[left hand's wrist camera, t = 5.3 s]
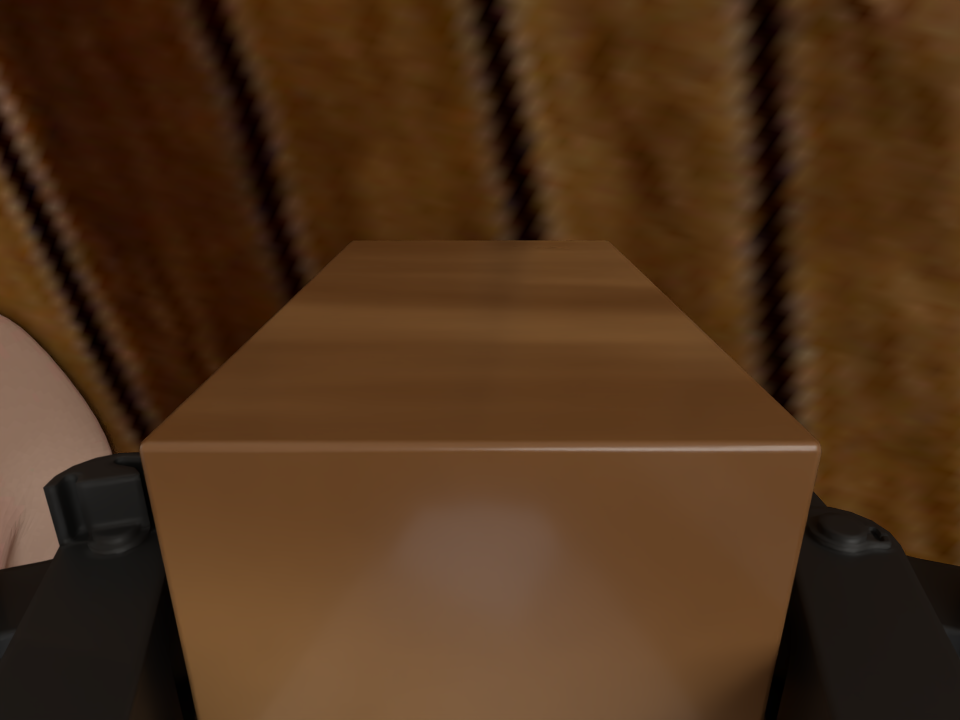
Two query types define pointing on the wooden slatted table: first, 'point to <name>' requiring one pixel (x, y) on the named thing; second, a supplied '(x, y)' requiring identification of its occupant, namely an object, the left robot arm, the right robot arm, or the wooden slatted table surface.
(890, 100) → the wooden slatted table surface
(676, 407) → the bar
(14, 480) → the anatomical model
